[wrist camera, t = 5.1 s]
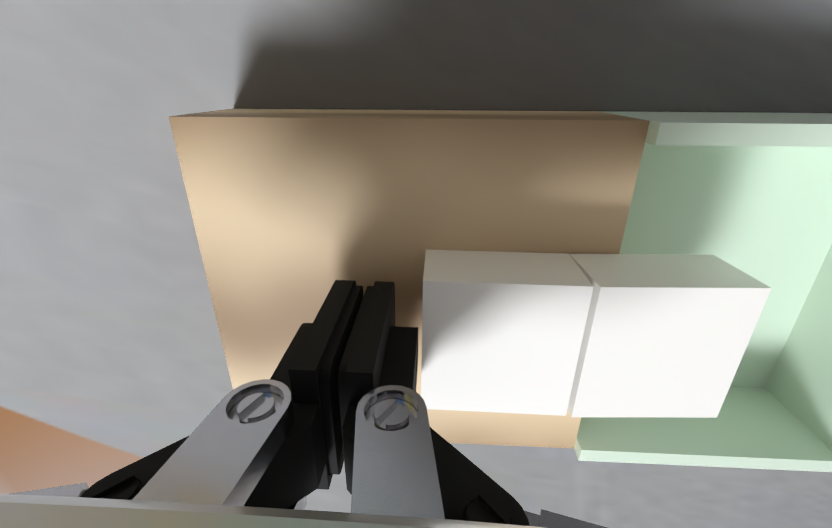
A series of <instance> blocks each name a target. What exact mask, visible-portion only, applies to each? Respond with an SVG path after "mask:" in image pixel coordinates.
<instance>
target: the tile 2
mask: <svg viewBox="0 0 832 528" xmlns="http://www.w3.org/2000/svg"><path fill="white" fill-rule="evenodd" d="M570 256H571V257H572V258H573V260H574V261H575V262H576V264H577V265H578V266H579V268H580V269H581V270H582V272H583V273H584V274H585V276H586V277H587V278H588V280H589V281H590V282H591V284H592V285H593V286H594V288H593V292H592V297H591V302H590V306H589V311H588V316H587V320H586V325H585V330H584V334H583V339H582V344H581V348H580V353H579V358H578V362H577V367H576V372H575V376H574V381H573V385H572V390H571V395H570V399H569V404H568V411H569V413H570V415H571V417H683V418H717V416H718V414H719V411H720V409H721V407H722V404H723V402H724V400H725V397H726V395H727V393H728V390H729V388H730V385H731V383H732V381H733V378H734V376H735V374H736V371H737V369H738V367H739V364H740V362H741V359H742V357H743V355H744V352H745V350H746V348H747V345H748V343H749V341H750V338H751V336H752V333H753V331H754V329H755V326H756V324H757V322H758V319H759V317H760V315H761V312H762V310H763V307H764V305H765V303H766V300H767V298H768V296H769V293H770V291H771V289H772V288H771V287H769V286H767V285H765V284H764V283H762V282H760V281H758V280H757V279H755V278H753V277H751V276H750V275H748V274H746V273H744V272H743V271H741V270H739V269H737V268H736V267H734V266H732V265H730V264H729V263H727V262H725V261H723V260H722V259H720V258H718V257H716V256H715V255H702V254H570Z"/></svg>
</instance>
